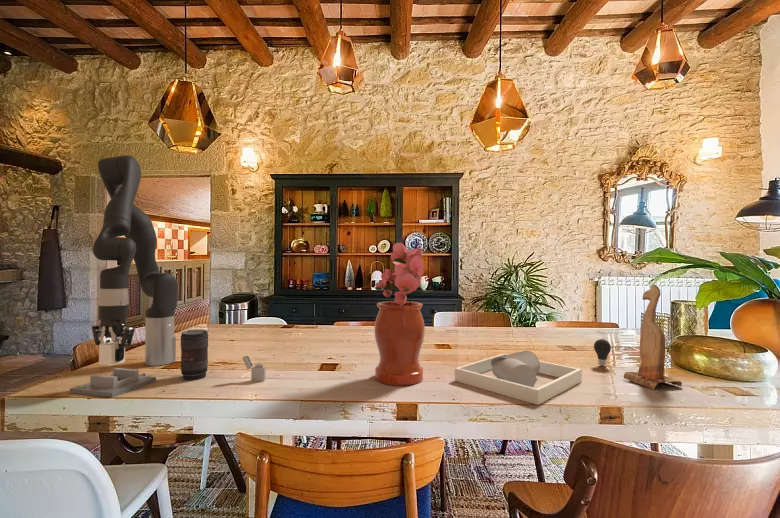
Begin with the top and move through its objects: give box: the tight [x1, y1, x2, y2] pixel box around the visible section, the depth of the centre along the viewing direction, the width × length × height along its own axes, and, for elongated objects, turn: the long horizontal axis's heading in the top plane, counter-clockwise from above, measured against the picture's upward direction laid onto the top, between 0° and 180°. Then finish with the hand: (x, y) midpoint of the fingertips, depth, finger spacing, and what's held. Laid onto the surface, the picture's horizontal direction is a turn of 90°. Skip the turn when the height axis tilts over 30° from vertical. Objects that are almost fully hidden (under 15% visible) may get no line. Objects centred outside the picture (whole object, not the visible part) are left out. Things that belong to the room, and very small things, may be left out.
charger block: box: [98, 341, 126, 367], centre depth 116 cm, size 4×4×6 cm
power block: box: [69, 367, 157, 398], centre depth 118 cm, size 18×15×4 cm
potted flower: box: [373, 242, 434, 387], centre depth 128 cm, size 19×25×45 cm
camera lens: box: [180, 329, 209, 381], centre depth 126 cm, size 8×8×15 cm
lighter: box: [242, 354, 267, 383], centre depth 124 cm, size 7×2×8 cm, turn 86°
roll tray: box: [454, 353, 583, 406], centre depth 125 cm, size 30×28×4 cm
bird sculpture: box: [623, 284, 683, 390], centre depth 124 cm, size 11×12×32 cm
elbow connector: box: [491, 350, 540, 388], centre depth 125 cm, size 18×11×20 cm
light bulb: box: [593, 338, 612, 367], centre depth 144 cm, size 6×6×10 cm
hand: (112, 359), depth 116 cm, fingers closed on charger block, 4 cm apart
